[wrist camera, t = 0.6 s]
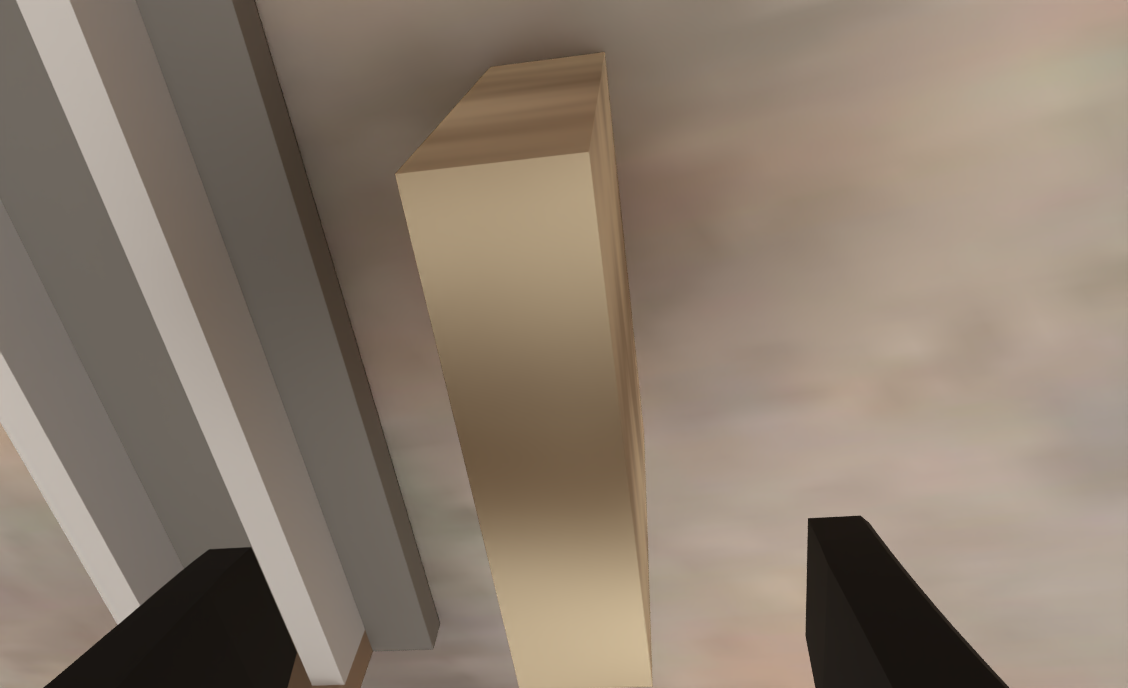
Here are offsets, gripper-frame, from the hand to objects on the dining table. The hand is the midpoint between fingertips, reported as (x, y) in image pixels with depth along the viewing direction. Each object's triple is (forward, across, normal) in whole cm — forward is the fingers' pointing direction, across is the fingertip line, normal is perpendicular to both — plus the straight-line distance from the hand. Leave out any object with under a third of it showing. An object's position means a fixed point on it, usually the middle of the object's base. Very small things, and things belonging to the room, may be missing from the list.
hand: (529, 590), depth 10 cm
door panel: (+10, 0, 0) cm, 10 cm away
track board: (+10, +11, 0) cm, 15 cm away
